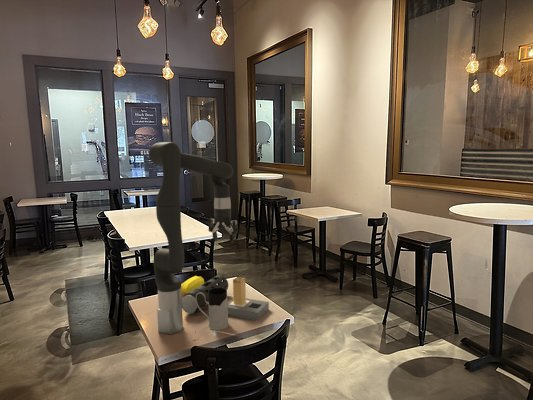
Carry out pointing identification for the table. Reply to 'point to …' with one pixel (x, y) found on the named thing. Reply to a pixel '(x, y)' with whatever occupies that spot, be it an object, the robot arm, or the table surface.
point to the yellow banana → (191, 284)
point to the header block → (248, 309)
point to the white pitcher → (217, 308)
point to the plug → (239, 290)
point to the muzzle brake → (189, 298)
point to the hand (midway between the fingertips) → (223, 241)
